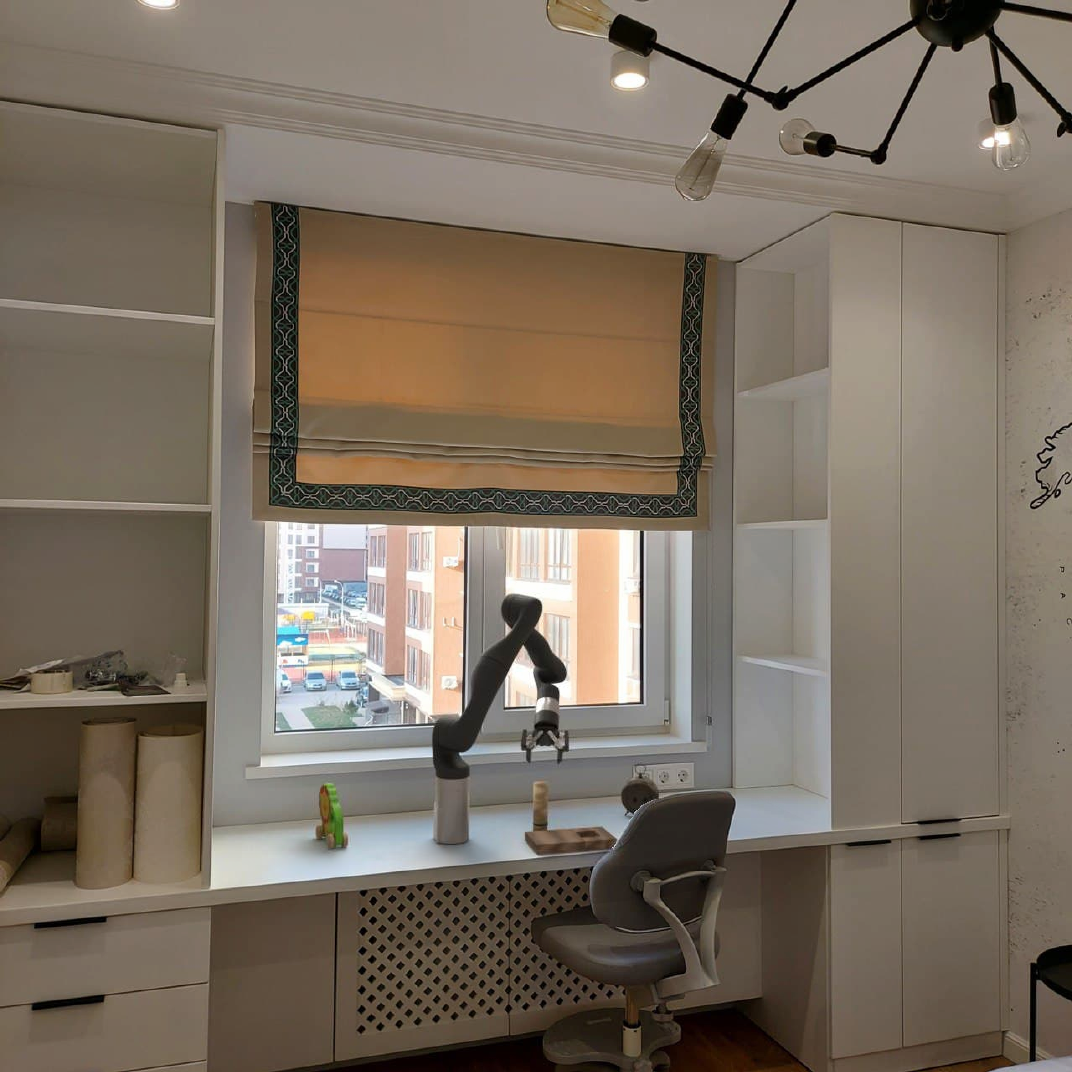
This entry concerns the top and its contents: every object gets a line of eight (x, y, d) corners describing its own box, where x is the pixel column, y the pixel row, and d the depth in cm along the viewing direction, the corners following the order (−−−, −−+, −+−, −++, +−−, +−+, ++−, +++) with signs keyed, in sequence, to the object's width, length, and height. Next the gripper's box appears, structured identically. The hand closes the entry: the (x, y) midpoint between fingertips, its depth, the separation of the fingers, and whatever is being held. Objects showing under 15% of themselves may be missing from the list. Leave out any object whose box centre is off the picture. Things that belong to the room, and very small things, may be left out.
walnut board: (537, 854, 243) (537, 844, 243) (525, 841, 255) (525, 831, 255) (616, 848, 249) (616, 838, 249) (601, 835, 261) (601, 826, 261)
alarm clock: (659, 817, 280) (659, 762, 281) (656, 822, 275) (657, 766, 275) (622, 814, 283) (623, 760, 283) (619, 819, 278) (620, 764, 278)
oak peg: (535, 836, 260) (535, 785, 260) (531, 831, 264) (531, 781, 264) (549, 835, 261) (549, 784, 261) (545, 830, 265) (545, 780, 265)
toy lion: (349, 848, 247) (350, 790, 247) (329, 851, 244) (330, 792, 245) (331, 833, 261) (332, 777, 261) (312, 835, 258) (313, 779, 259)
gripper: (522, 708, 284) (518, 754, 272) (570, 709, 283) (567, 755, 271) (524, 722, 289) (520, 768, 277) (570, 723, 288) (568, 769, 276)
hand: (543, 762), depth 274 cm, fingers open, 8 cm apart
